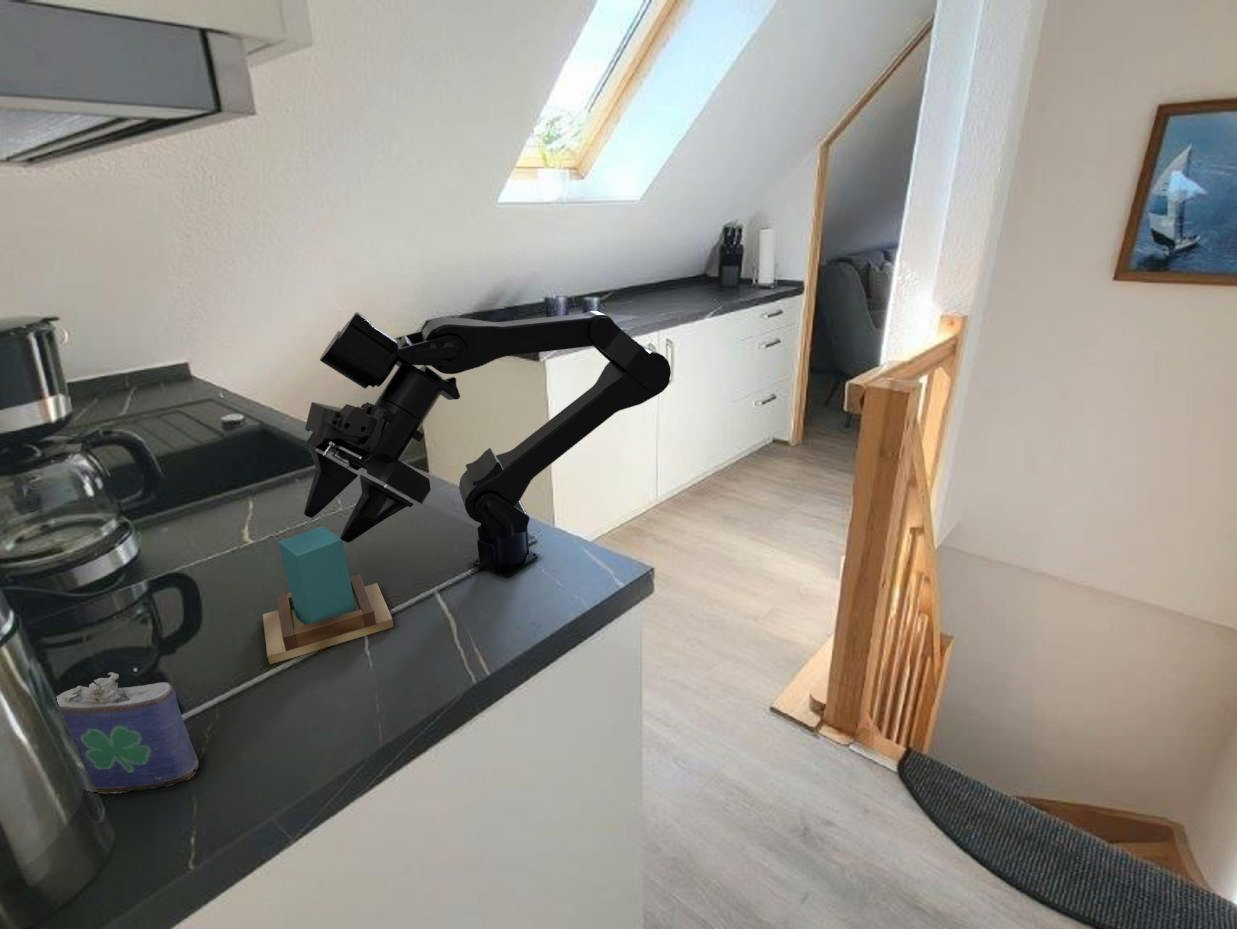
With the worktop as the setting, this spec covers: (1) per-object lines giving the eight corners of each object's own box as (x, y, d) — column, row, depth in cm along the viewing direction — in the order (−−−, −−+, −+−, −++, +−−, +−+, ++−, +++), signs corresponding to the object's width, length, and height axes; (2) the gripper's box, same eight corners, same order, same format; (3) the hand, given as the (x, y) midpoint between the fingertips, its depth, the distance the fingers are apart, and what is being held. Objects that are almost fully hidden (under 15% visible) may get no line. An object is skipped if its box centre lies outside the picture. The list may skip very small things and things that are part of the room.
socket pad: (378, 590, 83) (374, 569, 82) (394, 628, 75) (390, 606, 74) (264, 621, 77) (258, 600, 76) (269, 666, 69) (263, 643, 68)
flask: (205, 760, 58) (172, 661, 54) (188, 787, 55) (151, 686, 51) (95, 769, 57) (53, 670, 53) (72, 797, 54) (26, 695, 50)
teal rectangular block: (337, 599, 79) (322, 525, 75) (357, 615, 76) (342, 539, 72) (296, 617, 76) (278, 541, 72) (314, 634, 73) (296, 556, 69)
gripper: (308, 361, 76) (228, 475, 73) (388, 387, 64) (298, 525, 61) (380, 410, 85) (312, 515, 81) (464, 441, 73) (388, 565, 69)
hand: (325, 528), depth 73 cm, fingers open, 9 cm apart
